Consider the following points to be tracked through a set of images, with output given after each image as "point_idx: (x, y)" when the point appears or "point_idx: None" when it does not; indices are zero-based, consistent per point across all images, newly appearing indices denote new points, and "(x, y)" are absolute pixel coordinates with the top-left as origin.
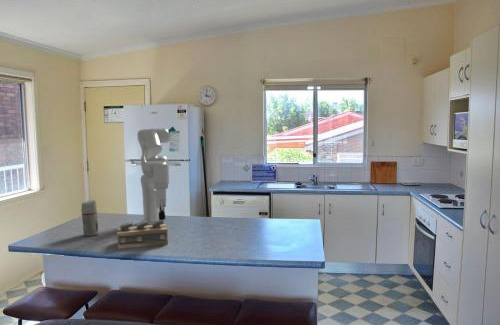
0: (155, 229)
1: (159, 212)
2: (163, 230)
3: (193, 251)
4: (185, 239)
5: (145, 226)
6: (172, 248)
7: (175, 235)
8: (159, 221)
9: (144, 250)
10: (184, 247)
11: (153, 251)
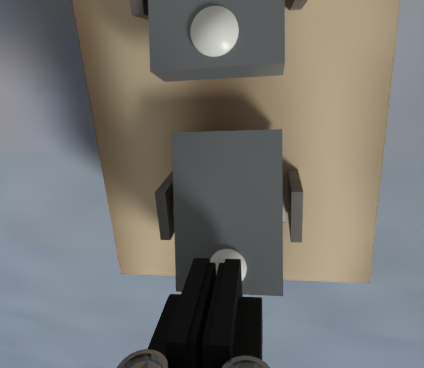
0: (130, 160)
1: (124, 358)
2: (118, 234)
3: (7, 321)
4: None
5: (317, 27)
6: (67, 228)
7: (377, 279)
8: (221, 244)
9: (39, 36)
10: (79, 292)
11: (14, 105)
